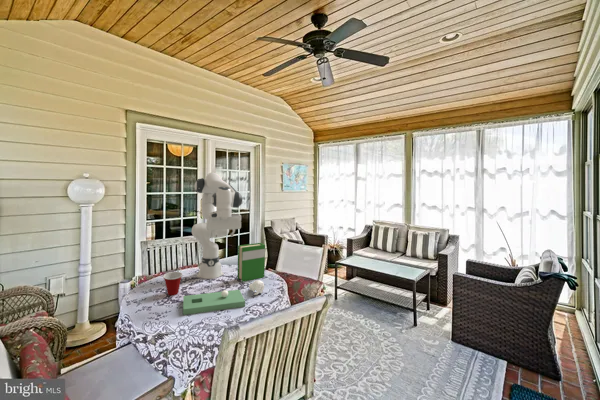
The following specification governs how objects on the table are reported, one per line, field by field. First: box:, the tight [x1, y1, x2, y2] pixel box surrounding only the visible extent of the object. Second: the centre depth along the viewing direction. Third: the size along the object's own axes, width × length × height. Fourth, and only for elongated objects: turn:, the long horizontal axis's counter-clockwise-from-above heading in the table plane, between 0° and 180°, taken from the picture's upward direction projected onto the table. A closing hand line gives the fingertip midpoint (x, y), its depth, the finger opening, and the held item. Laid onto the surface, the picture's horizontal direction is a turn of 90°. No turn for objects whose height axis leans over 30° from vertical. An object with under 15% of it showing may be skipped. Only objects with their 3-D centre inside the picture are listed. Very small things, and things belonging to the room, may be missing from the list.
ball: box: [221, 289, 229, 298], centre depth 165 cm, size 4×4×4 cm
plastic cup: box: [162, 271, 183, 296], centre depth 175 cm, size 11×11×12 cm
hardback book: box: [237, 242, 266, 283], centre depth 206 cm, size 18×7×24 cm, turn 127°
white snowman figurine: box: [248, 279, 265, 296], centre depth 181 cm, size 6×8×12 cm
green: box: [182, 289, 246, 316], centre depth 163 cm, size 18×32×3 cm, turn 112°
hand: (223, 236), depth 173 cm, fingers open, 8 cm apart
